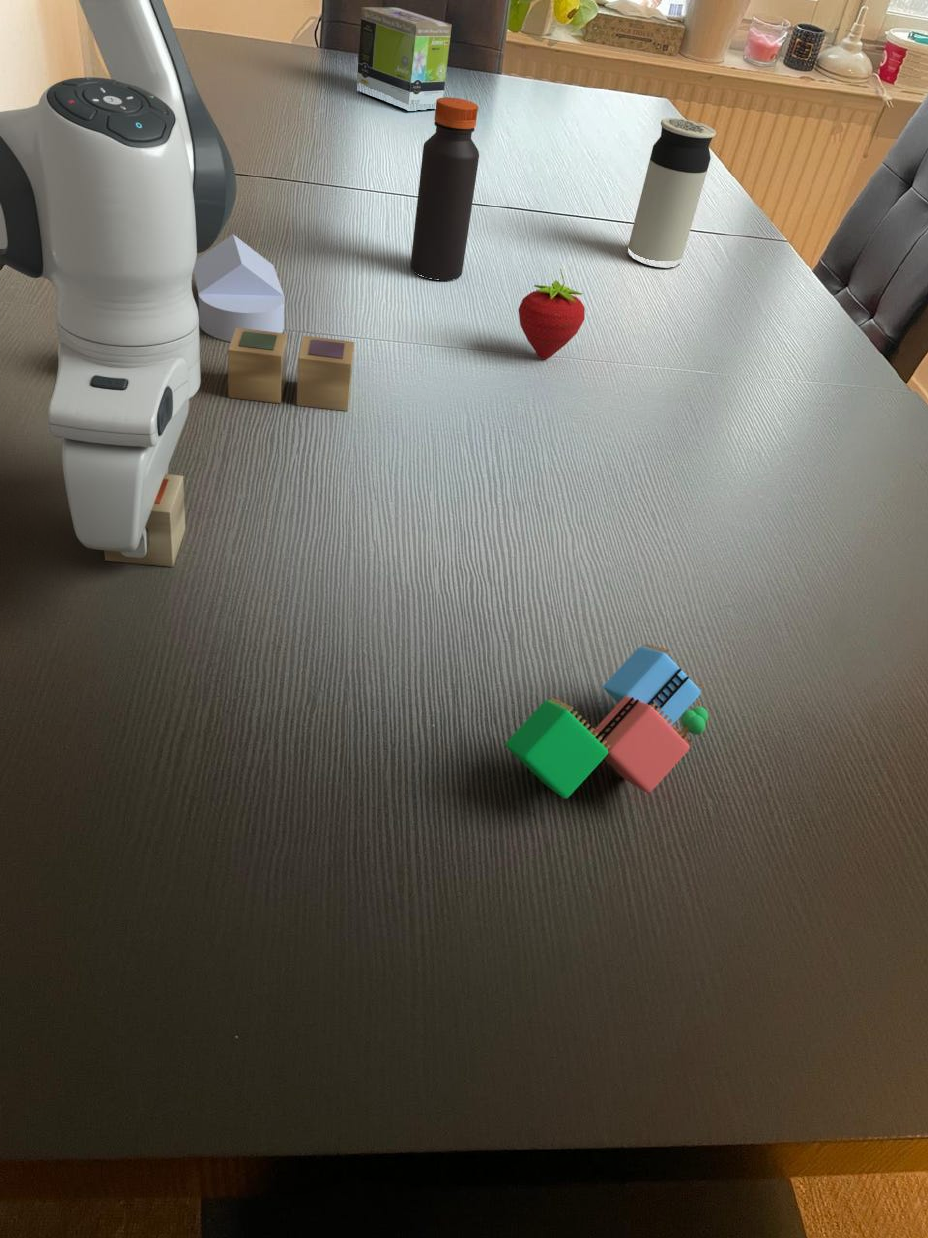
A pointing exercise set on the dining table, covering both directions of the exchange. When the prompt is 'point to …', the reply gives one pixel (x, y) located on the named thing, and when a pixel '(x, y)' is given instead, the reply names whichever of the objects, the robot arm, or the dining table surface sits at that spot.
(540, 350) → the strawberry
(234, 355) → the beech block
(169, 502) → the maple block
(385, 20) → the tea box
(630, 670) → the building blocks
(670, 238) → the travel mug
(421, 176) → the bottle
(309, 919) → the dining table surface
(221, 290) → the wedge on round base
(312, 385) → the beech block
